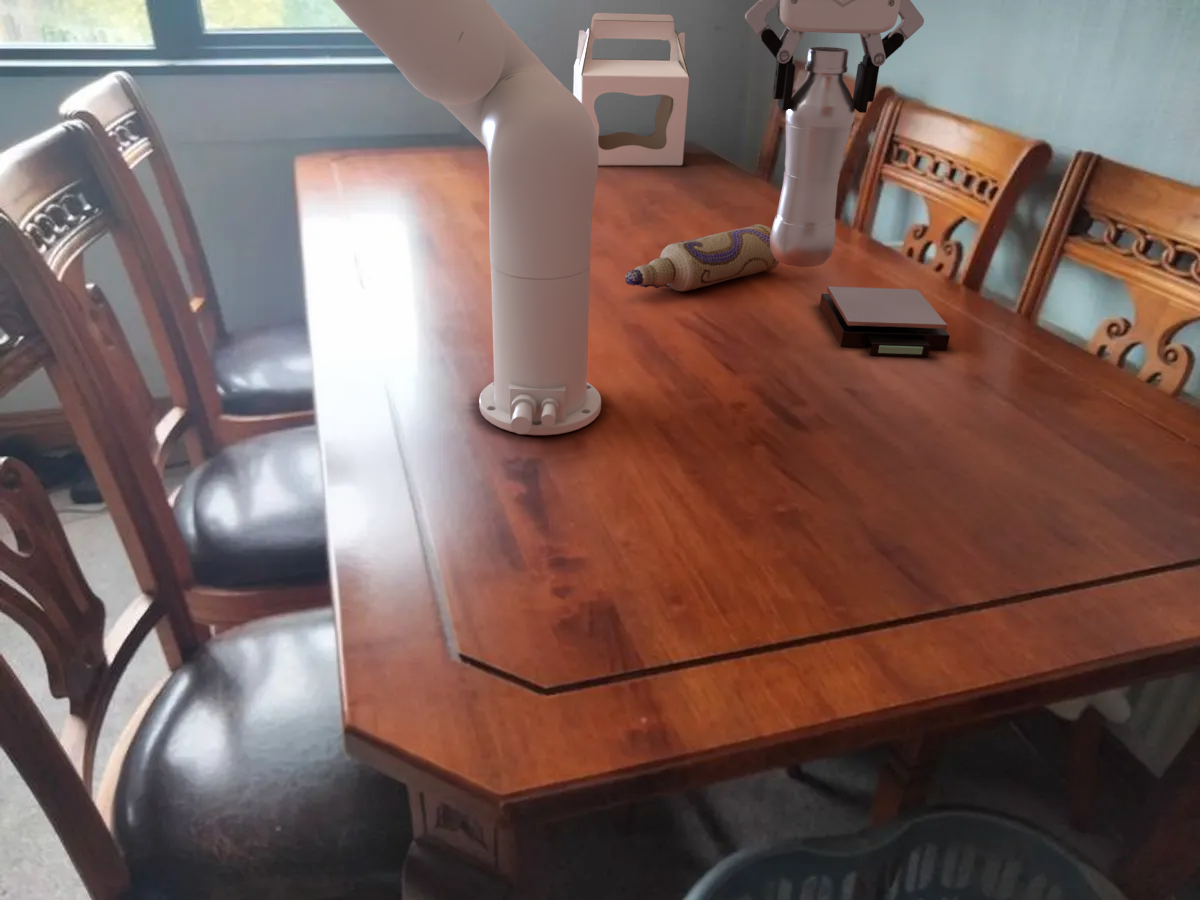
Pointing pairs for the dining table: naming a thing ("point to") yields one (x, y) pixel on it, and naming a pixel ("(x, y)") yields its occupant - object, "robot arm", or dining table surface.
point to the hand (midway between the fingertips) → (821, 107)
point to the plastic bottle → (813, 161)
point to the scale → (884, 321)
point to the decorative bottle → (708, 260)
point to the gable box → (636, 88)
